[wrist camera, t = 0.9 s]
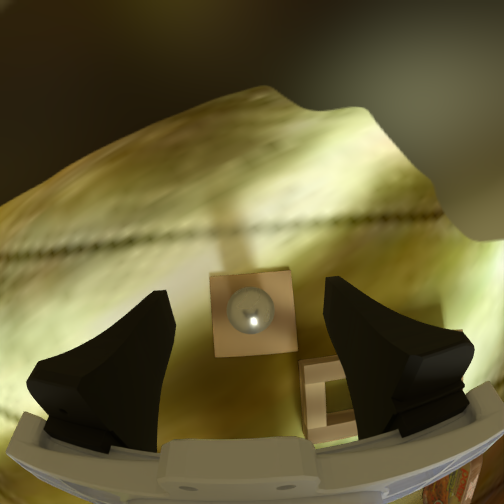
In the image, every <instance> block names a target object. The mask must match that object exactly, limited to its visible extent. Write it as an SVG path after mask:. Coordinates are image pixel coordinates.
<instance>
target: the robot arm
mask: <svg viewBox="0 0 504 504" xmlns="http://www.w3.org/2000/svg"><path fill="white" fill-rule="evenodd" d="M323 315H324V319H325V323H326V327H327V331H328V333H329V336H330V338H331V341H332V343H333V346H334V348H335V350H336V353H337V355H338V358H339V360H340V362H341V365H342V367H343V370H344V373H345V376H346V380H347V384H348V387H349V391H350V396H351V400H352V405H353V409H354V414H355V420H356V425H357V432H358V439H359V440H358V441H354V442H350V443H346V444H341V445H336V446H332V447H326V448H321V449H315V447H314V445H313V443H312V441H309V440H307V439H303V438H299V437H296V436H286V437H280V436H277V437H266V438H251V439H175V440H172V441H170V442H168V443H166V444H164V445H162V448H161V453H157V425H158V412H159V402H160V395H161V388H162V383H163V379H164V375H165V372H166V368H167V365H168V361H169V358H170V354H171V351H172V347H173V343H174V337H175V330H176V323H175V320H174V316H173V313H172V309H171V306H170V302H169V298H168V295H167V291H166V290H158V291H153V292H152V293H150V294H149V295H148V296H147V297H146V298H144V299H143V300H142V301H141V302H140V303H139V304H138V305H136V306H135V307H134V308H133V309H132V310H131V311H130V312H128V313H127V314H126V315H125V316H124V317H122V318H121V319H120V320H119V321H117V322H116V323H115V324H114V325H112V326H111V327H110V328H108V329H107V330H105V331H104V332H102V333H101V334H99V335H98V336H96V337H95V338H93V339H91V340H89V341H87V342H86V343H84V344H82V345H80V346H78V347H76V348H74V349H72V350H70V351H67V352H65V353H62V354H60V355H57V356H54V357H51V358H48V359H45V360H41V361H38V363H37V364H36V366H35V368H34V369H33V371H32V373H31V374H30V376H29V378H28V379H27V381H26V383H27V388H28V390H29V392H30V394H31V395H32V396H33V398H34V399H35V400H36V401H37V403H38V404H39V405H40V406H41V407H42V408H43V410H44V411H45V412H46V413H47V414H48V415H49V417H48V420H47V421H46V420H44V419H43V418H41V417H39V416H36V415H33V414H31V413H28V412H24V413H23V415H22V417H21V419H20V421H19V423H18V425H17V427H16V429H15V431H14V434H13V436H12V438H11V440H10V443H9V445H8V447H7V450H6V454H7V455H8V456H9V457H11V458H12V459H13V460H14V461H16V462H17V463H18V464H20V465H21V466H22V467H23V468H25V469H26V470H28V471H29V472H30V473H32V474H33V475H35V476H36V477H37V478H39V479H40V480H42V481H44V482H46V483H48V484H50V485H52V486H54V487H57V488H59V489H61V490H63V491H65V492H68V493H70V494H72V495H74V496H77V497H79V498H82V499H84V500H87V501H89V502H92V503H94V504H387V503H389V502H392V501H394V500H397V499H399V498H402V497H404V496H406V495H409V494H411V493H413V492H415V491H417V490H419V489H421V488H424V487H426V486H428V485H430V484H431V483H433V482H435V481H437V480H439V479H441V478H443V477H445V476H446V475H448V474H450V473H452V472H453V471H455V470H457V469H459V468H460V467H462V466H464V465H465V464H467V463H468V462H470V461H472V460H473V459H475V458H476V457H478V456H479V455H481V454H482V453H484V452H485V451H486V450H487V449H488V448H489V447H490V446H491V445H492V444H494V443H495V442H496V441H497V440H498V439H499V438H500V437H501V436H502V435H503V434H504V403H503V401H502V400H501V398H500V397H499V395H498V394H497V392H496V390H495V389H494V387H493V386H492V384H491V383H490V381H486V382H485V383H483V384H481V385H479V386H477V387H475V388H473V389H472V390H470V391H469V392H468V393H467V394H466V395H465V394H464V392H463V390H462V389H463V388H464V387H465V384H464V383H463V381H462V377H463V375H464V374H465V372H466V370H467V368H468V367H469V365H470V363H471V361H472V359H473V356H474V351H475V349H474V345H473V344H472V343H471V341H470V340H469V339H468V338H467V336H466V335H465V334H464V333H463V332H462V331H456V330H450V329H444V328H440V327H436V326H432V325H428V324H425V323H422V322H419V321H416V320H413V319H411V318H408V317H406V316H403V315H401V314H399V313H397V312H395V311H393V310H391V309H389V308H387V307H385V306H383V305H382V304H380V303H378V302H377V301H375V300H373V299H372V298H370V297H369V296H367V295H366V294H364V293H363V292H361V291H360V290H358V289H357V288H355V287H354V286H353V285H351V284H350V283H348V282H347V281H345V280H344V279H343V278H341V277H339V276H334V277H326V281H325V296H324V308H323Z"/></svg>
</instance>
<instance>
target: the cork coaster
mask: <svg viewBox="0 0 504 504" xmlns="http://www.w3.org/2000/svg"><path fill="white" fill-rule="evenodd" d="M244 287H257V288H260V289H262V290H264V291H265V292H266V293H267V294H268V295H269V296H270V297H271V299H272V301H273V303H274V308H275V312H274V318H273V320H272V322H271V324H270V325H269V326H268V327H267V328H266V329H265V330H263V331H262V332H259V333H256V334H245V333H242V332H240V331H238V330H236V329H235V328H234V327H233V326H232V325H231V323H230V322H229V320H228V317H227V304H228V301H229V299H230V297H231V296H232V295H233V294H234V293H235V292H236V291H238V290H239V289H241V288H244ZM210 292H211V308H212V323H213V336H214V349H215V357H236V356H251V355H264V354H275V353H285V352H294V351H298V344H297V332H296V320H295V310H294V299H293V289H292V279H291V270H287V271H276V272H264V273H252V274H240V275H227V276H213V277H210Z"/></svg>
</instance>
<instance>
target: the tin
mask: <svg viewBox="0 0 504 504" xmlns="http://www.w3.org/2000/svg"><path fill="white" fill-rule="evenodd" d="M482 462H483V453H482V454H481V455H479V456H478V457H476V458H475V459H473V460H472V461H470V462H468V463H467V464H465V465H464V466H462V467H460V468H459V469H457V470H455V471H453V472H452V473H450V474H448V475H446V476H445V477H443V478H441V479H439V480H437V481H435V482H433V483H431V484H430V485H428V486H426V487H424V491H423V503H424V504H470V502H471V499H472V497H473V494H474V490H475V487H476V484H477V481H478V477H479V474H480V470H481V466H482Z"/></svg>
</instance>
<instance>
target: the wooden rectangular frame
mask: <svg viewBox="0 0 504 504" xmlns="http://www.w3.org/2000/svg"><path fill="white" fill-rule="evenodd" d="M456 331H462V332H463V329H461V330H456ZM298 364H299V378H300V393H301V410H302V430H303V434H304V436H305V439H307V440H309V441H312V443H313V444H318V443H324V442H329V441H334V440H339V439H344V438H348V437H353V436H357V435H358V432H357V425H356V420H355V414H354V409H353V408H352V409H347V410H343V411H338V412H332V413H327V414H326V396H325V382H326V381H332V380H338V379H343V378H346V376H345V373H344V370H343V367H342V365H341V362H340V360H339V358H338V355H333V356H327V357H320V358H313V359H305V360H298ZM462 381H463V377H462ZM462 390H463V389H462Z"/></svg>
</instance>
